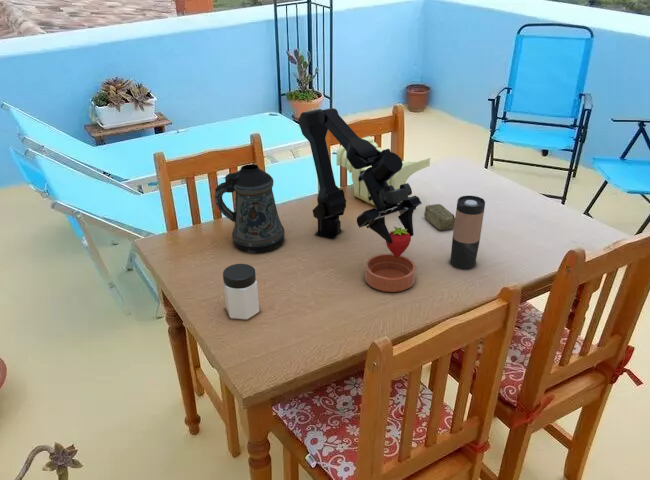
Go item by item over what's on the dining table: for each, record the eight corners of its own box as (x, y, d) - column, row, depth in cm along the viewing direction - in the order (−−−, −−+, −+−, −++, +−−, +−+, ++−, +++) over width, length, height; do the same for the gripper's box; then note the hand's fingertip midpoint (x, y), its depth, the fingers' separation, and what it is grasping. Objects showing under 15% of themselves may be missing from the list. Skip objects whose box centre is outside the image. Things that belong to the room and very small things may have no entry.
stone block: (439, 232, 189) (441, 218, 186) (422, 218, 198) (423, 204, 195) (455, 229, 190) (457, 215, 188) (437, 215, 199) (439, 201, 197)
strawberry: (379, 256, 163) (381, 224, 157) (399, 248, 166) (402, 216, 161) (393, 265, 159) (396, 232, 153) (414, 257, 162) (417, 224, 157)
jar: (244, 297, 158) (240, 259, 152) (265, 308, 154) (263, 269, 147) (219, 312, 152) (214, 273, 146) (241, 324, 148) (237, 284, 142)
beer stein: (295, 242, 184) (292, 167, 171) (243, 263, 174) (236, 184, 161) (265, 224, 195) (260, 152, 182) (214, 242, 185) (205, 168, 172)
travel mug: (477, 258, 174) (486, 197, 163) (474, 271, 168) (484, 208, 157) (451, 255, 176) (459, 193, 165) (447, 267, 170) (455, 204, 159)
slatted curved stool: (336, 191, 217) (336, 145, 208) (368, 181, 226) (369, 136, 216) (393, 219, 197) (396, 169, 188) (425, 206, 205) (430, 157, 196)
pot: (356, 286, 162) (357, 271, 160) (375, 263, 173) (376, 249, 170) (404, 298, 157) (405, 283, 154) (421, 273, 167) (422, 259, 165)
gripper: (364, 183, 149) (389, 238, 147) (420, 167, 157) (444, 219, 155) (345, 200, 158) (369, 252, 157) (398, 185, 167) (421, 234, 165)
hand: (401, 239), depth 158 cm, fingers closed on strawberry, 7 cm apart
